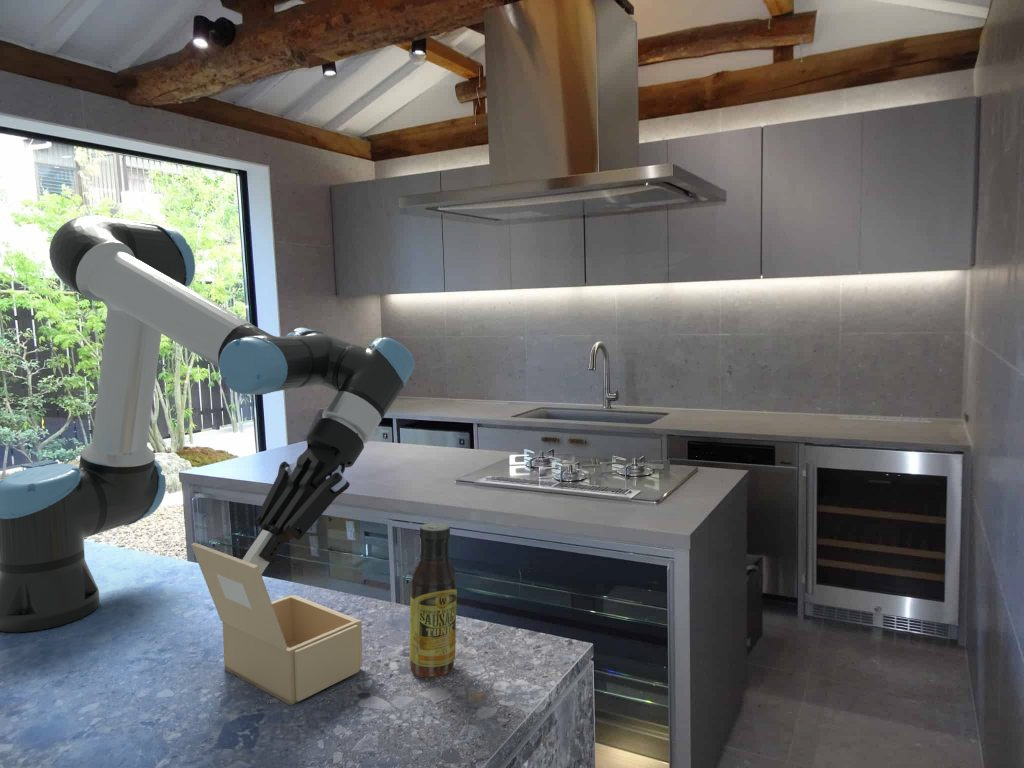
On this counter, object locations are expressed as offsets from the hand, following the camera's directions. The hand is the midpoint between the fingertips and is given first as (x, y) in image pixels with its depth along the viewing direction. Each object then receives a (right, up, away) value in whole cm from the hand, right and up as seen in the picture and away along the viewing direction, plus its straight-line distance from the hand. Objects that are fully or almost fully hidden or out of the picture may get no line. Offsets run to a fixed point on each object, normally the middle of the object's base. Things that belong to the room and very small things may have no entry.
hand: (242, 580), depth 91 cm
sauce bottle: (+23, -14, +7) cm, 28 cm away
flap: (+1, -8, +2) cm, 8 cm away
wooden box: (+4, -14, +7) cm, 16 cm away
